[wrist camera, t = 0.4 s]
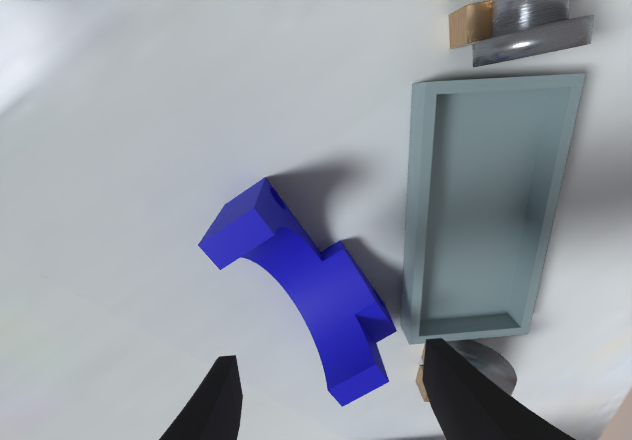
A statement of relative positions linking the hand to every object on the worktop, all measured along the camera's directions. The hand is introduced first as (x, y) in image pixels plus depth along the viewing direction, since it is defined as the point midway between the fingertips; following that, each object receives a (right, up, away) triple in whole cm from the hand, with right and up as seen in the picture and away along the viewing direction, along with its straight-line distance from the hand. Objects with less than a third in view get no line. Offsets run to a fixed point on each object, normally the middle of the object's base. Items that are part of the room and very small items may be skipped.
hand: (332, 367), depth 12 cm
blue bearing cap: (-1, +3, +9) cm, 10 cm away
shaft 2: (+8, +16, +5) cm, 19 cm away
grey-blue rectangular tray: (+9, +6, +9) cm, 14 cm away
